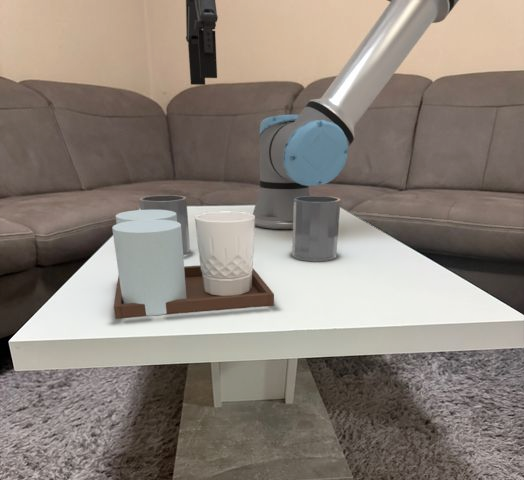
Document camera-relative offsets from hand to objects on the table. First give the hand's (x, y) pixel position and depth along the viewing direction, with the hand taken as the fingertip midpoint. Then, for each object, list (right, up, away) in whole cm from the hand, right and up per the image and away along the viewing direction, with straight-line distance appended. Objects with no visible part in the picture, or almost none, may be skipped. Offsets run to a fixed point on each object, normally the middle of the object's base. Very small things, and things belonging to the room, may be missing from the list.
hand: (203, 81), depth 82 cm
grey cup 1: (-7, -31, +2) cm, 31 cm away
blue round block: (-5, -39, -16) cm, 42 cm away
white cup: (+6, -40, -17) cm, 44 cm away
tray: (+1, -41, -18) cm, 45 cm away
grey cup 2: (+20, -31, +2) cm, 37 cm away
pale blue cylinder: (-3, -42, -23) cm, 48 cm away
